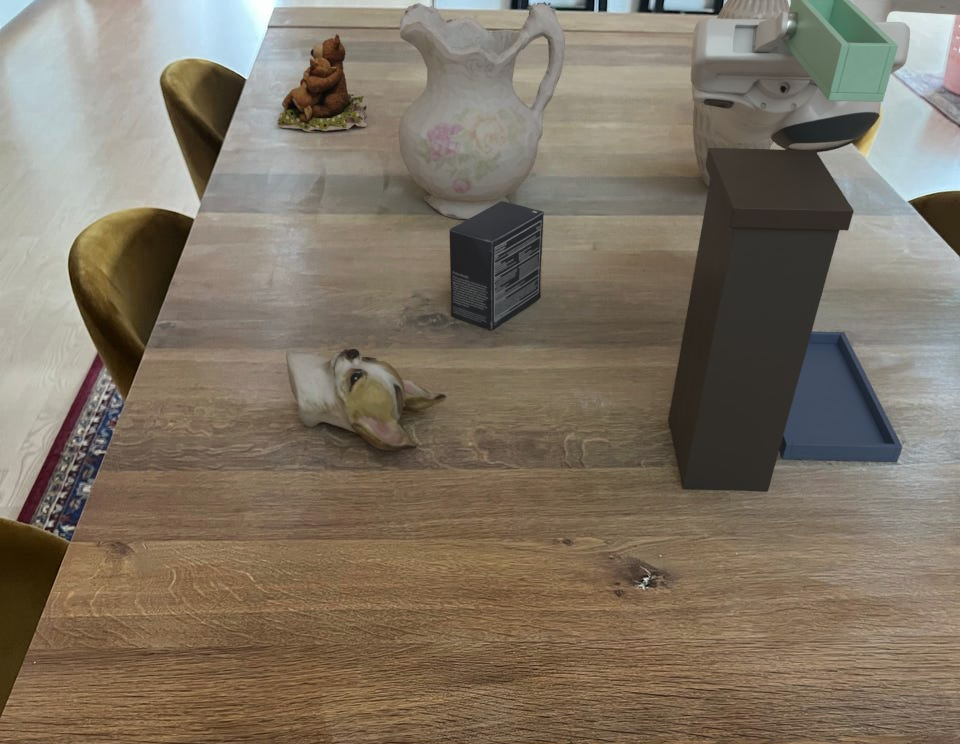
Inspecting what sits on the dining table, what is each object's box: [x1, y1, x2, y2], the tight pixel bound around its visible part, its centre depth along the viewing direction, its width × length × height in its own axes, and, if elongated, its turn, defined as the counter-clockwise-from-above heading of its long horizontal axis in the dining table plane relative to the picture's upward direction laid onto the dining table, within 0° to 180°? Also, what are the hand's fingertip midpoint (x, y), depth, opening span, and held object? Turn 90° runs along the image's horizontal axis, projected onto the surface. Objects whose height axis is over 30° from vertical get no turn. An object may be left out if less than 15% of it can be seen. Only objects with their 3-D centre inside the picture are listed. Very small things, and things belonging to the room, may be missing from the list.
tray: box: [779, 330, 903, 463], centre depth 103 cm, size 11×23×2 cm, turn 179°
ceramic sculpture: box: [285, 348, 448, 452], centre depth 95 cm, size 11×9×15 cm
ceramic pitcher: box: [398, 1, 566, 220], centre depth 131 cm, size 22×20×25 cm
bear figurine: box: [277, 33, 368, 133], centre depth 160 cm, size 14×15×12 cm
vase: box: [692, 0, 790, 188], centre depth 137 cm, size 13×13×28 cm
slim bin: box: [783, 0, 898, 103], centre depth 83 cm, size 4×18×4 cm, turn 179°
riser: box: [667, 148, 854, 492], centre depth 86 cm, size 9×13×26 cm
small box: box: [448, 201, 545, 331], centre depth 113 cm, size 11×6×10 cm, turn 144°
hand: (822, 22), depth 87 cm, fingers closed on slim bin, 4 cm apart
